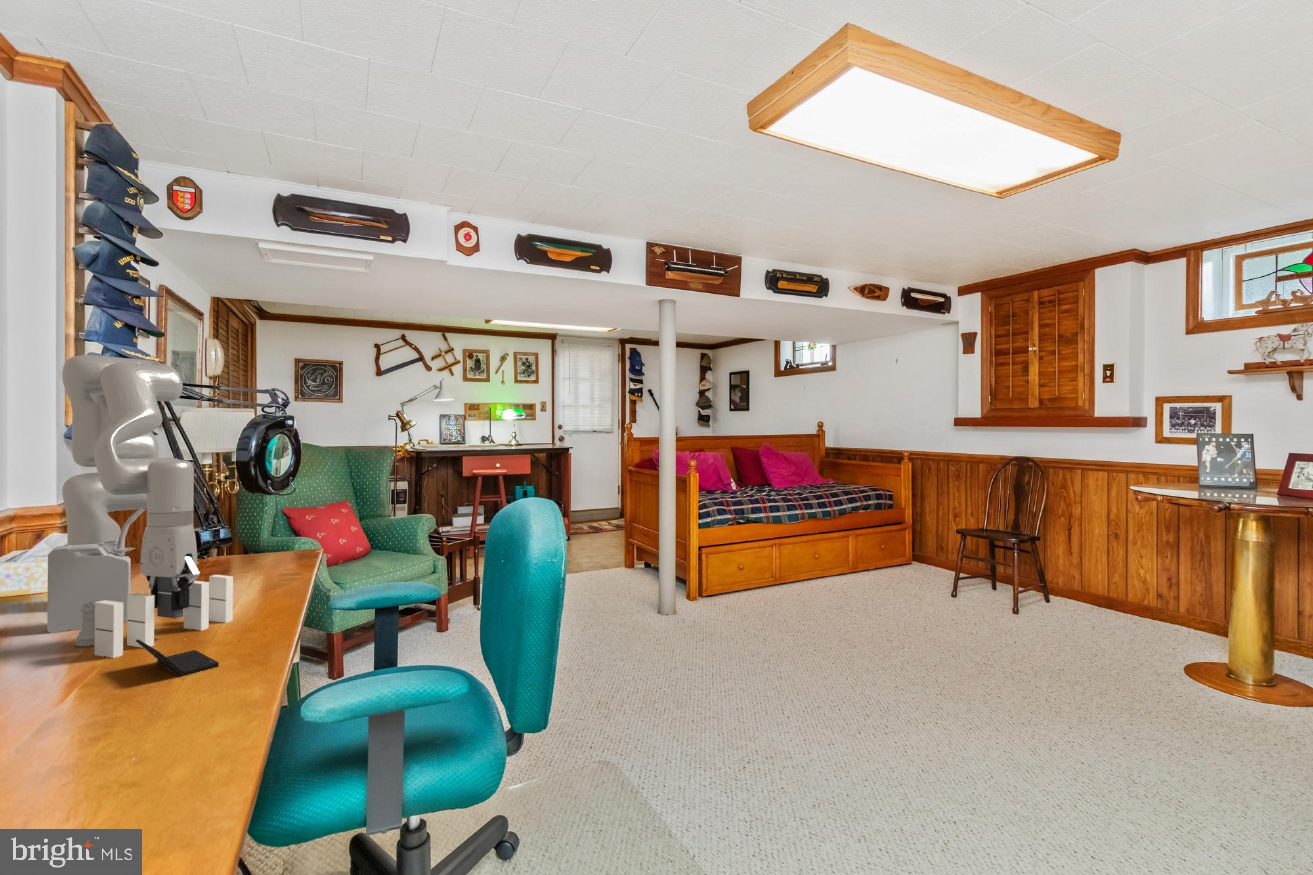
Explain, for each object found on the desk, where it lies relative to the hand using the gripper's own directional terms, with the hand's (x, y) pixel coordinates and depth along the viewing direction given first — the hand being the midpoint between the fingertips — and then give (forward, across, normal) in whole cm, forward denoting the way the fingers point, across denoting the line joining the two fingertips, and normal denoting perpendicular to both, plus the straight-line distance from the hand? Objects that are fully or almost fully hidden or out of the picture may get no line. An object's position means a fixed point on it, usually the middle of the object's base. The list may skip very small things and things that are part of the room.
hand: (170, 606), depth 126 cm
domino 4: (+6, 0, +6) cm, 8 cm away
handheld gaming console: (+7, +18, -11) cm, 22 cm away
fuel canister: (+6, -22, +1) cm, 23 cm away
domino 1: (+6, 0, -11) cm, 13 cm away
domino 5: (+6, 0, +11) cm, 13 cm away
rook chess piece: (+6, -10, -8) cm, 14 cm away
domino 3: (+2, 0, 0) cm, 2 cm away
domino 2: (+6, 0, -5) cm, 8 cm away
